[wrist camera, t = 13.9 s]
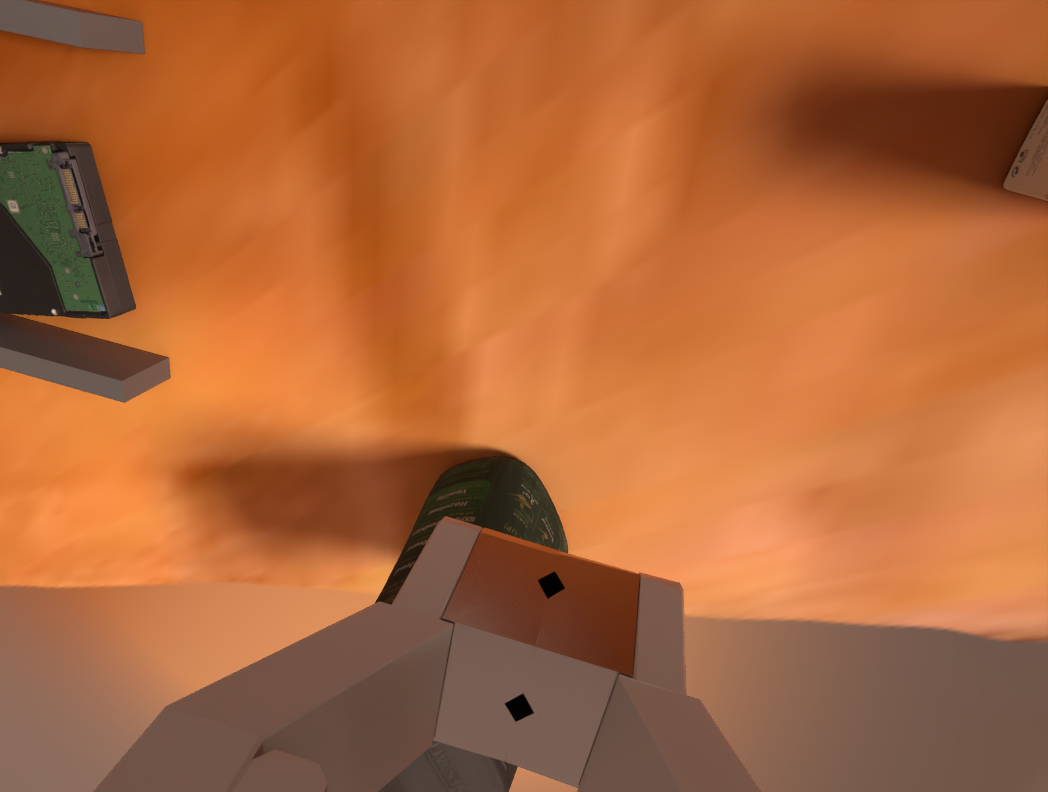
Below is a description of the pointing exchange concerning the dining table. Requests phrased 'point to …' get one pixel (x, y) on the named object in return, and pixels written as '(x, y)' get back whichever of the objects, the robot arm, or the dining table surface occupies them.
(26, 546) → the dining table surface
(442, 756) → the coffee jar
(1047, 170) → the skincare box
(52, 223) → the disk drive
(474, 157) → the dining table surface
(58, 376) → the bracket
